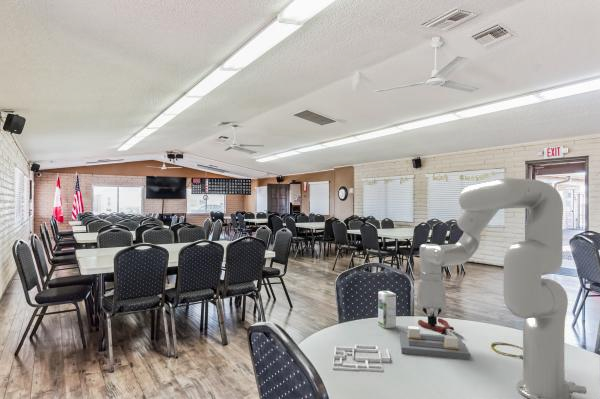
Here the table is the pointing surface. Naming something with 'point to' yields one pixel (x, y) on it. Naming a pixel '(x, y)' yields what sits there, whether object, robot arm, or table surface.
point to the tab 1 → (413, 331)
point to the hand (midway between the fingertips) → (432, 326)
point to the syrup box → (386, 309)
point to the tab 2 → (451, 341)
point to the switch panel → (431, 346)
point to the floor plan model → (359, 358)
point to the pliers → (440, 328)
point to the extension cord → (506, 353)
